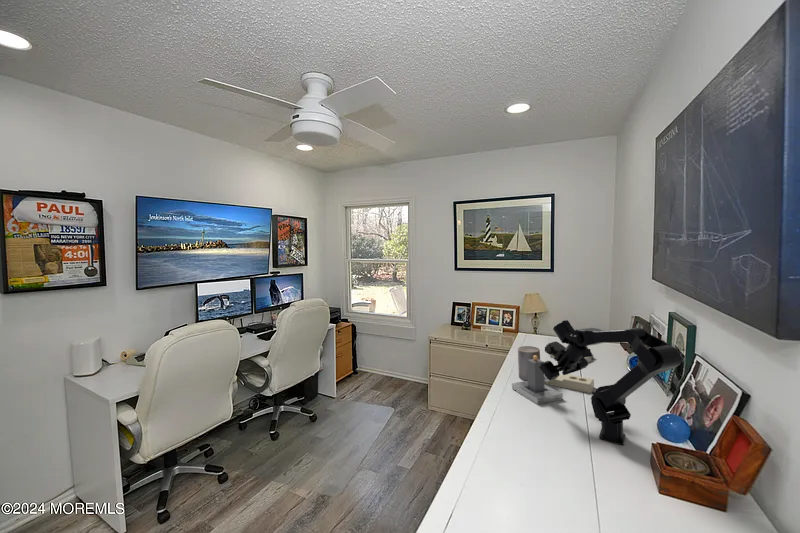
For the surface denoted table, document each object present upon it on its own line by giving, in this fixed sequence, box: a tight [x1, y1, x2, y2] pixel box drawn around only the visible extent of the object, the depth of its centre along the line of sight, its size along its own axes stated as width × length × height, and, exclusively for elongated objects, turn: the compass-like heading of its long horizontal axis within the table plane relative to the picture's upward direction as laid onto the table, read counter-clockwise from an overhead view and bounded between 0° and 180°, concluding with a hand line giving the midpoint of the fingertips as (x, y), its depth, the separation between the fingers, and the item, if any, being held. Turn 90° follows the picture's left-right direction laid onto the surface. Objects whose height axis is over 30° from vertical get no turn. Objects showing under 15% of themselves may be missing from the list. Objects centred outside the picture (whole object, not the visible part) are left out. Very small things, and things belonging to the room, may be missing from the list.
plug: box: [527, 355, 545, 393], centre depth 138 cm, size 4×4×15 cm
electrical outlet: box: [544, 374, 595, 394], centre depth 145 cm, size 7×4×18 cm
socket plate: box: [511, 380, 564, 406], centre depth 138 cm, size 16×12×2 cm
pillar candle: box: [517, 345, 541, 381], centre depth 155 cm, size 10×10×15 cm
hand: (554, 377), depth 129 cm, fingers open, 9 cm apart
